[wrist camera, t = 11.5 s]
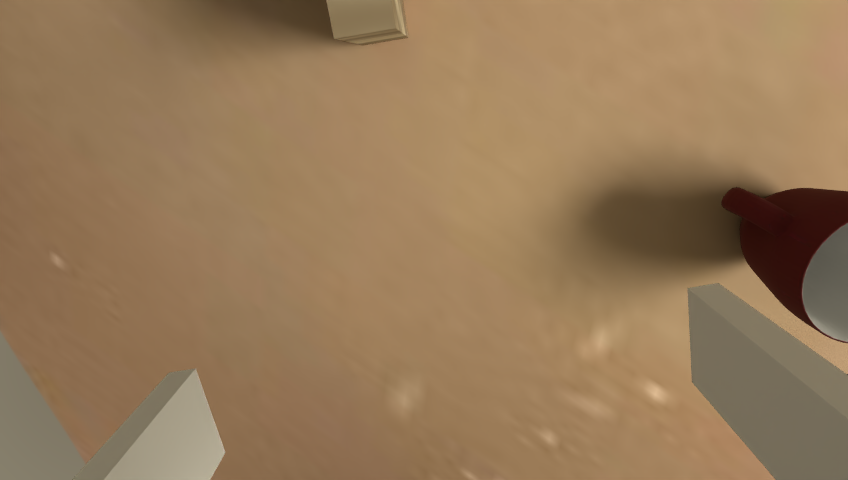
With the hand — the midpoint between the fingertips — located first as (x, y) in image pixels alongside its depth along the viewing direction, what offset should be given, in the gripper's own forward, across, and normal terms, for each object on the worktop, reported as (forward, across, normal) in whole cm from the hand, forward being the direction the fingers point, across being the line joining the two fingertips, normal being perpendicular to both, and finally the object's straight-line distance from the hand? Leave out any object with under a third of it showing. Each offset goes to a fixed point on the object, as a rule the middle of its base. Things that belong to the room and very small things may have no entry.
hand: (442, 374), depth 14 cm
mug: (+24, +22, -6) cm, 33 cm away
